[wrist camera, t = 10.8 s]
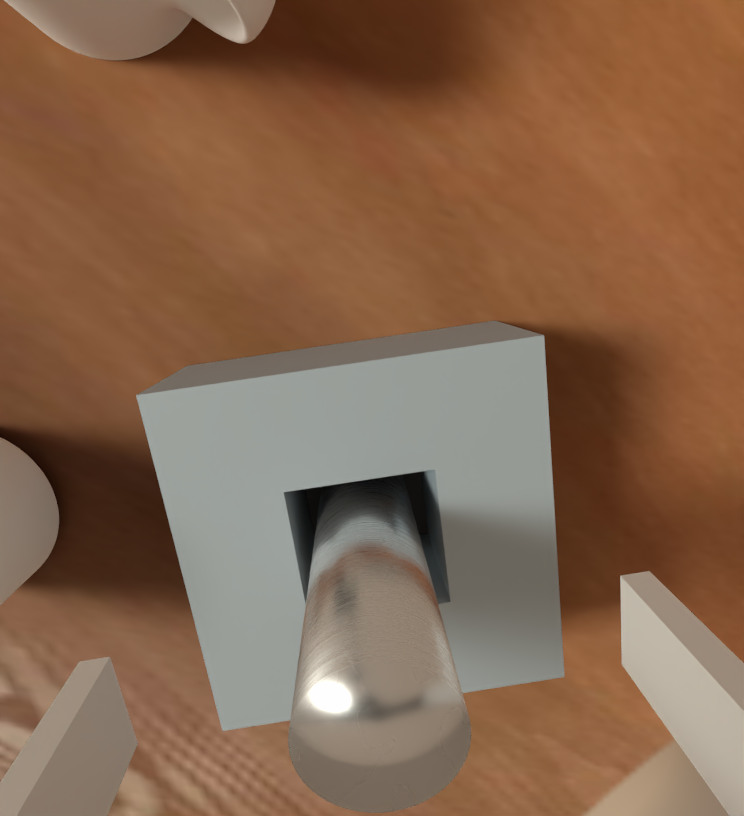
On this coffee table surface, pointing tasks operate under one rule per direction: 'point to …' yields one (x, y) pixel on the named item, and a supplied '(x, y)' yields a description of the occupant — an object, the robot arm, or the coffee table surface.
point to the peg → (374, 659)
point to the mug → (139, 22)
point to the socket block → (355, 461)
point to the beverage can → (23, 518)
